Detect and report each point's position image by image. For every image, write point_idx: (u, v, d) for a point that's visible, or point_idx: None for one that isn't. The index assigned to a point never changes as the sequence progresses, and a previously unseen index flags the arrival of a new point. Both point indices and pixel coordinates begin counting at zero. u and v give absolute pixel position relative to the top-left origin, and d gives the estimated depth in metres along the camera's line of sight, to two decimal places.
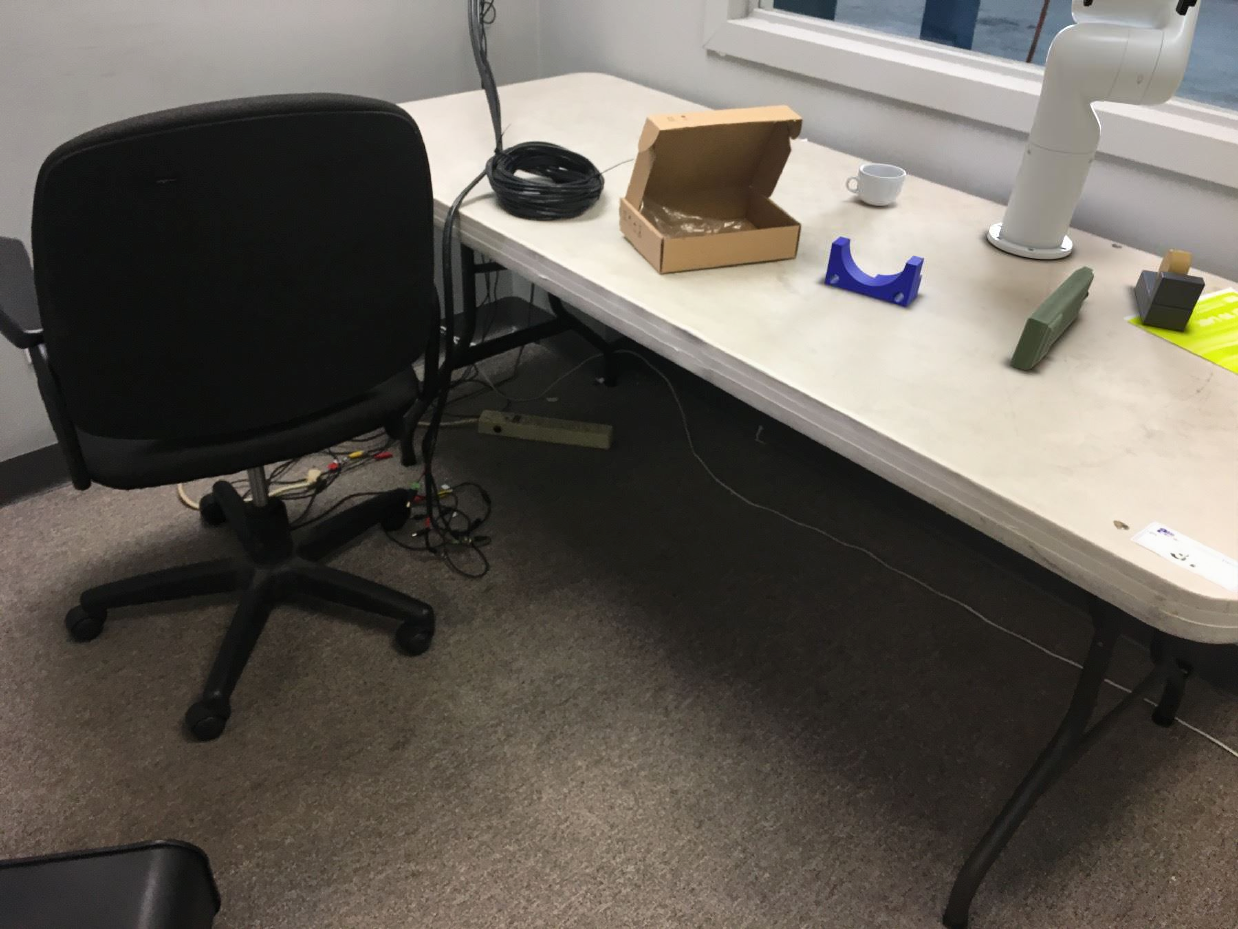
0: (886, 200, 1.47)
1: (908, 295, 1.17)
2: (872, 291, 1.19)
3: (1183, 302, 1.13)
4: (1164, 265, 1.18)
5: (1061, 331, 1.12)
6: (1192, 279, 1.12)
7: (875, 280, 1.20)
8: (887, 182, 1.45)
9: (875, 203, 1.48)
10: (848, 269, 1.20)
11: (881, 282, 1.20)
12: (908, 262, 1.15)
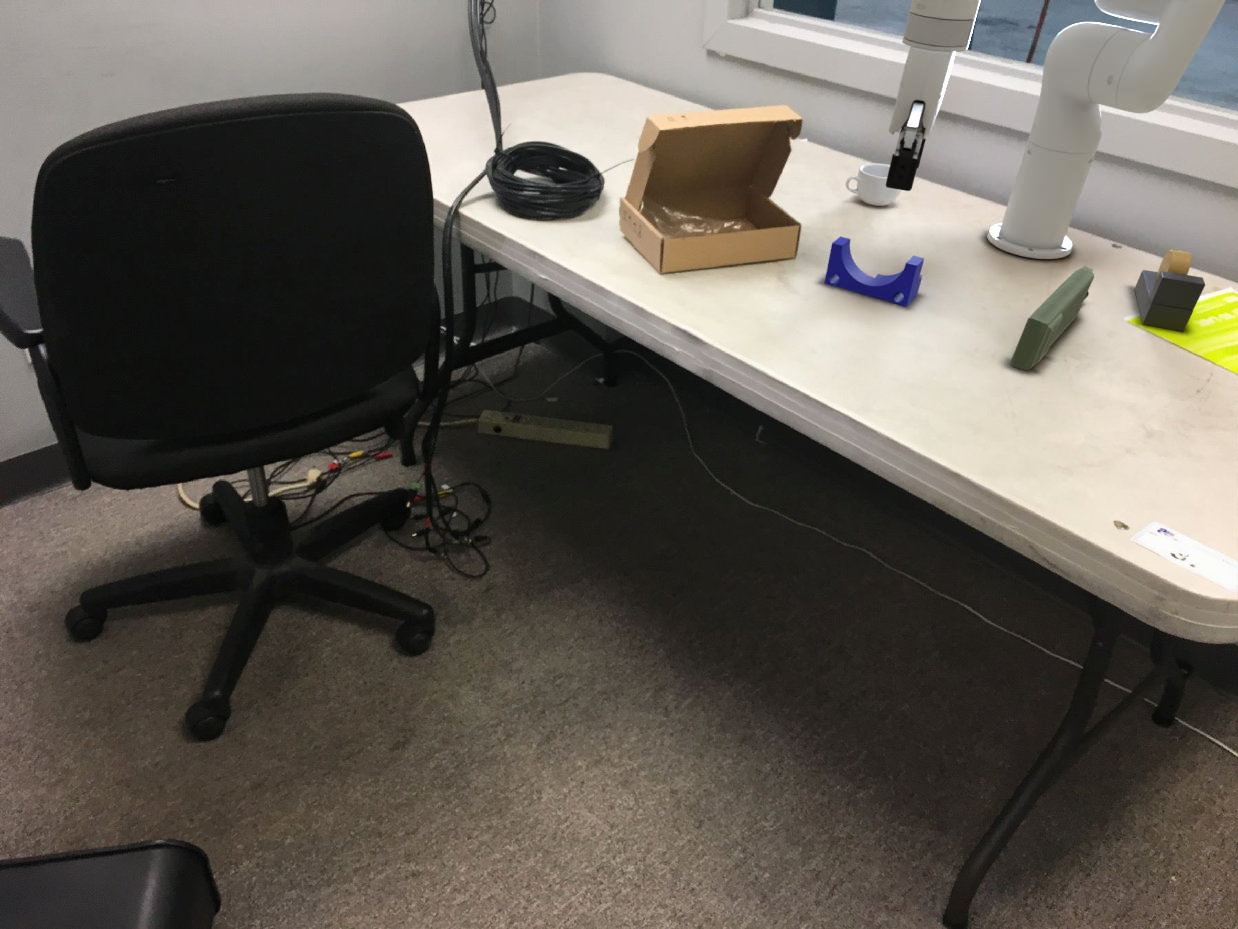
0: (886, 200, 1.47)
1: (908, 295, 1.17)
2: (872, 291, 1.19)
3: (1183, 302, 1.13)
4: (1164, 265, 1.18)
5: (1061, 331, 1.12)
6: (1192, 279, 1.12)
7: (875, 280, 1.20)
8: None
9: (875, 203, 1.48)
10: (848, 269, 1.20)
11: (881, 282, 1.20)
12: (908, 262, 1.15)
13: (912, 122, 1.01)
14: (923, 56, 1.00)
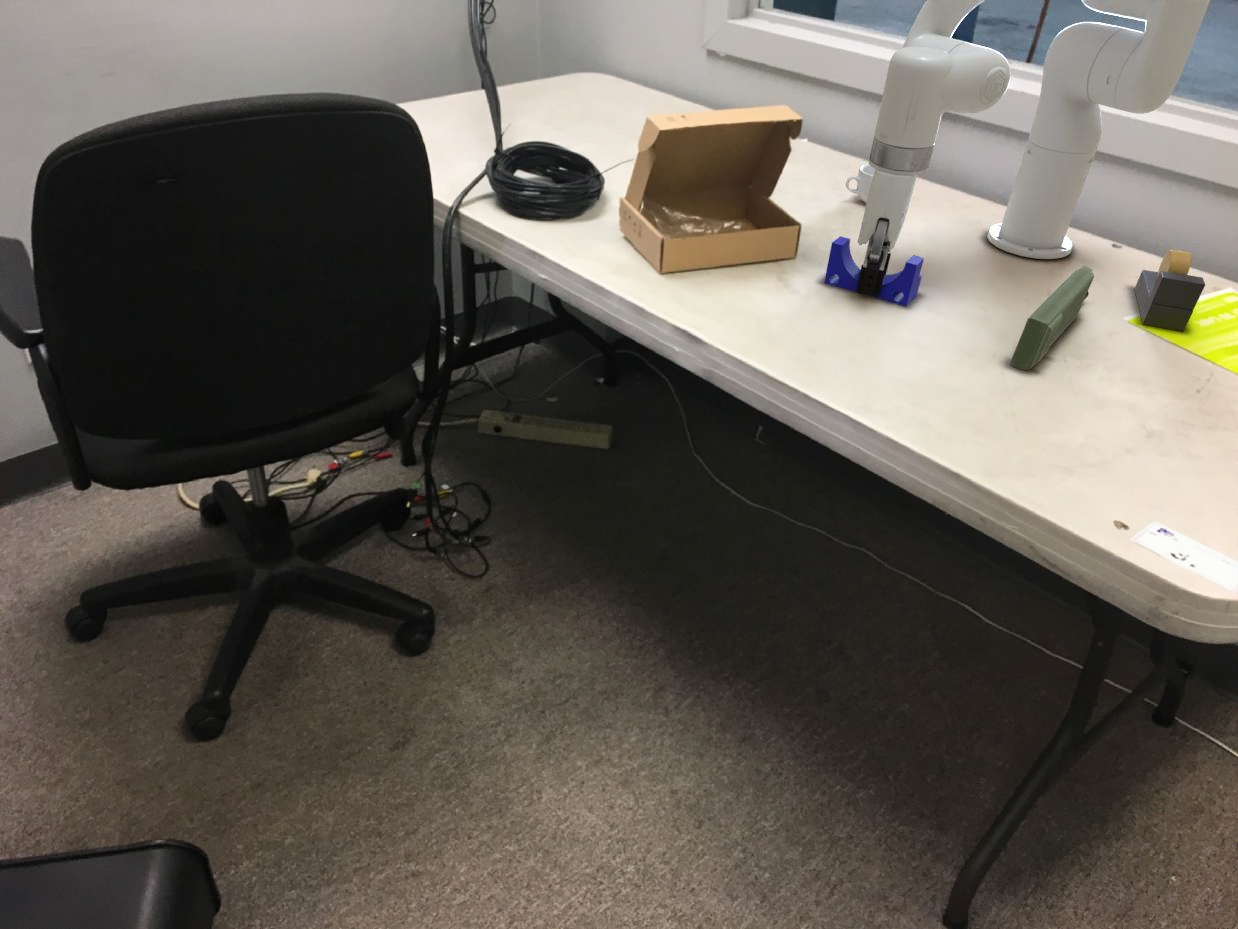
0: None
1: (908, 294, 1.17)
2: None
3: (1183, 302, 1.13)
4: (1164, 265, 1.18)
5: (1061, 331, 1.12)
6: (1192, 279, 1.12)
7: None
8: None
9: None
10: (848, 268, 1.20)
11: None
12: (908, 261, 1.15)
13: (875, 249, 1.11)
14: (886, 180, 1.08)
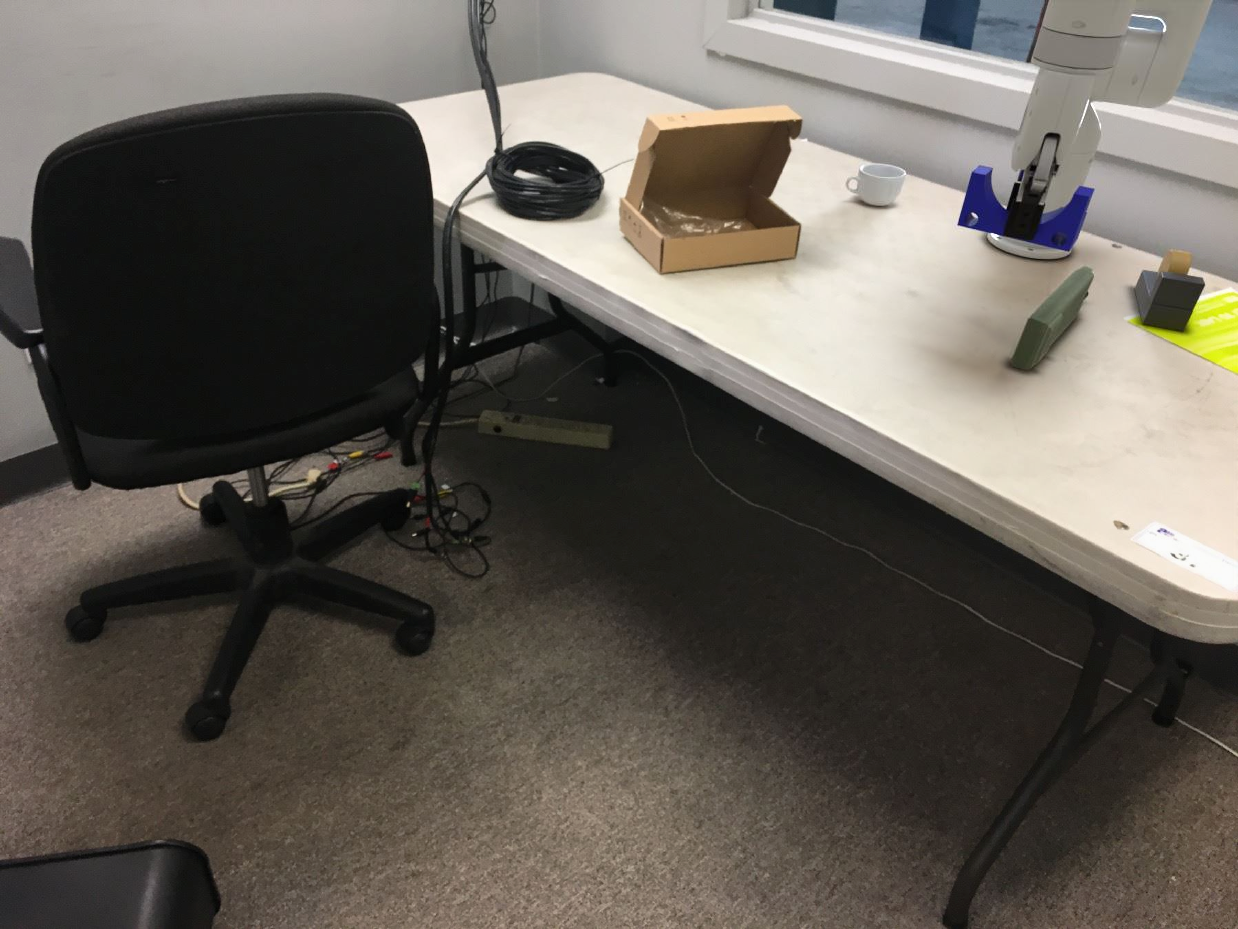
0: (886, 200, 1.47)
1: (1073, 236, 0.91)
2: None
3: (1183, 302, 1.13)
4: (1164, 265, 1.18)
5: (1061, 331, 1.12)
6: (1192, 279, 1.12)
7: None
8: (887, 183, 1.45)
9: (875, 203, 1.48)
10: (991, 205, 0.95)
11: None
12: (1076, 193, 0.89)
13: (1041, 174, 0.86)
14: (1061, 81, 0.83)
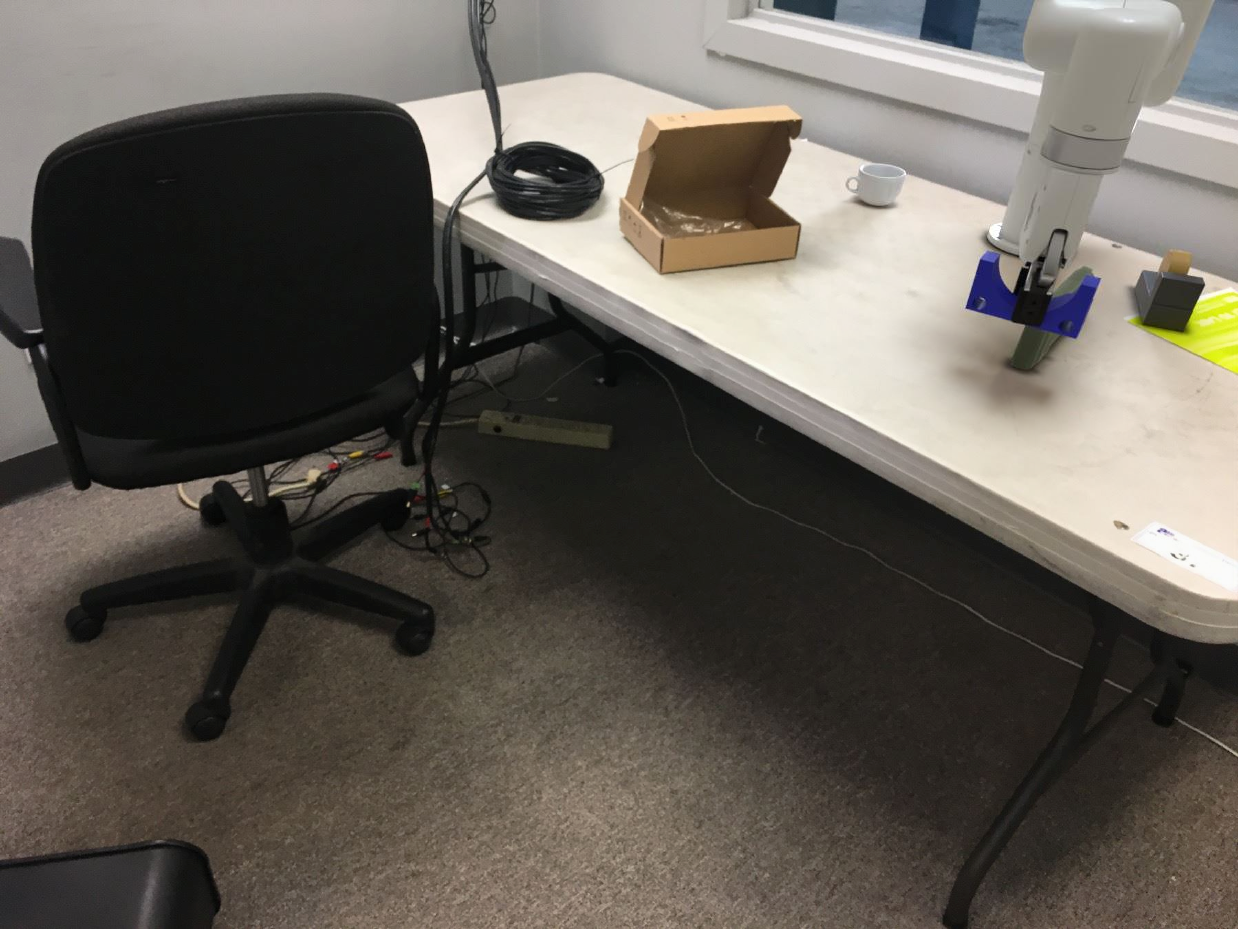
0: (886, 200, 1.47)
1: (1080, 325, 0.93)
2: None
3: (1183, 302, 1.13)
4: (1164, 265, 1.18)
5: None
6: (1192, 279, 1.12)
7: None
8: (887, 183, 1.45)
9: (875, 203, 1.48)
10: (998, 291, 0.96)
11: None
12: (1083, 283, 0.91)
13: (1049, 269, 0.87)
14: (1069, 180, 0.84)
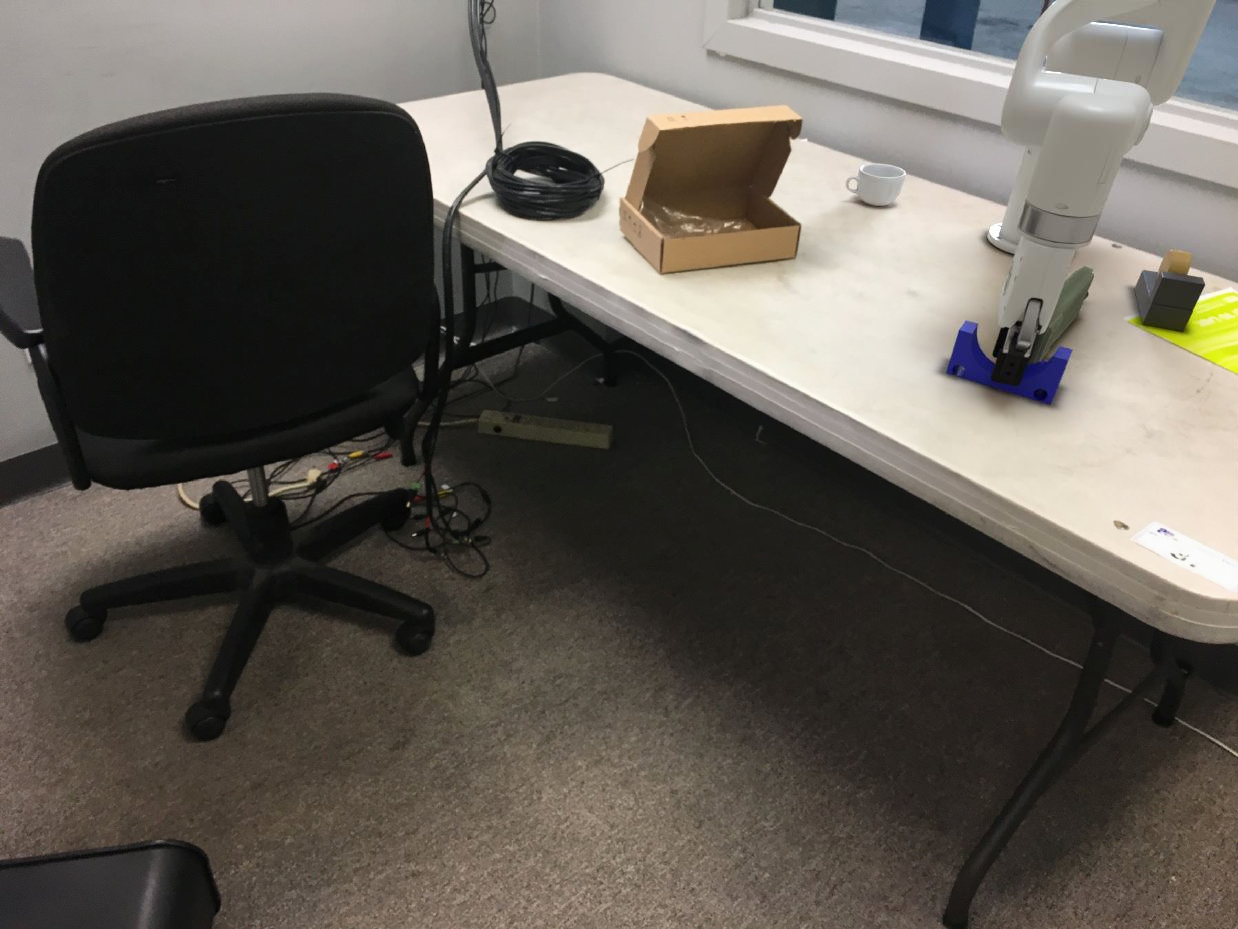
0: (886, 200, 1.47)
1: (1053, 393, 0.98)
2: (1007, 386, 1.01)
3: (1183, 302, 1.13)
4: (1164, 265, 1.18)
5: (1061, 331, 1.12)
6: (1192, 279, 1.12)
7: None
8: (887, 182, 1.45)
9: (875, 203, 1.48)
10: (977, 359, 1.01)
11: None
12: (1056, 356, 0.96)
13: (1025, 335, 0.92)
14: (1043, 254, 0.89)
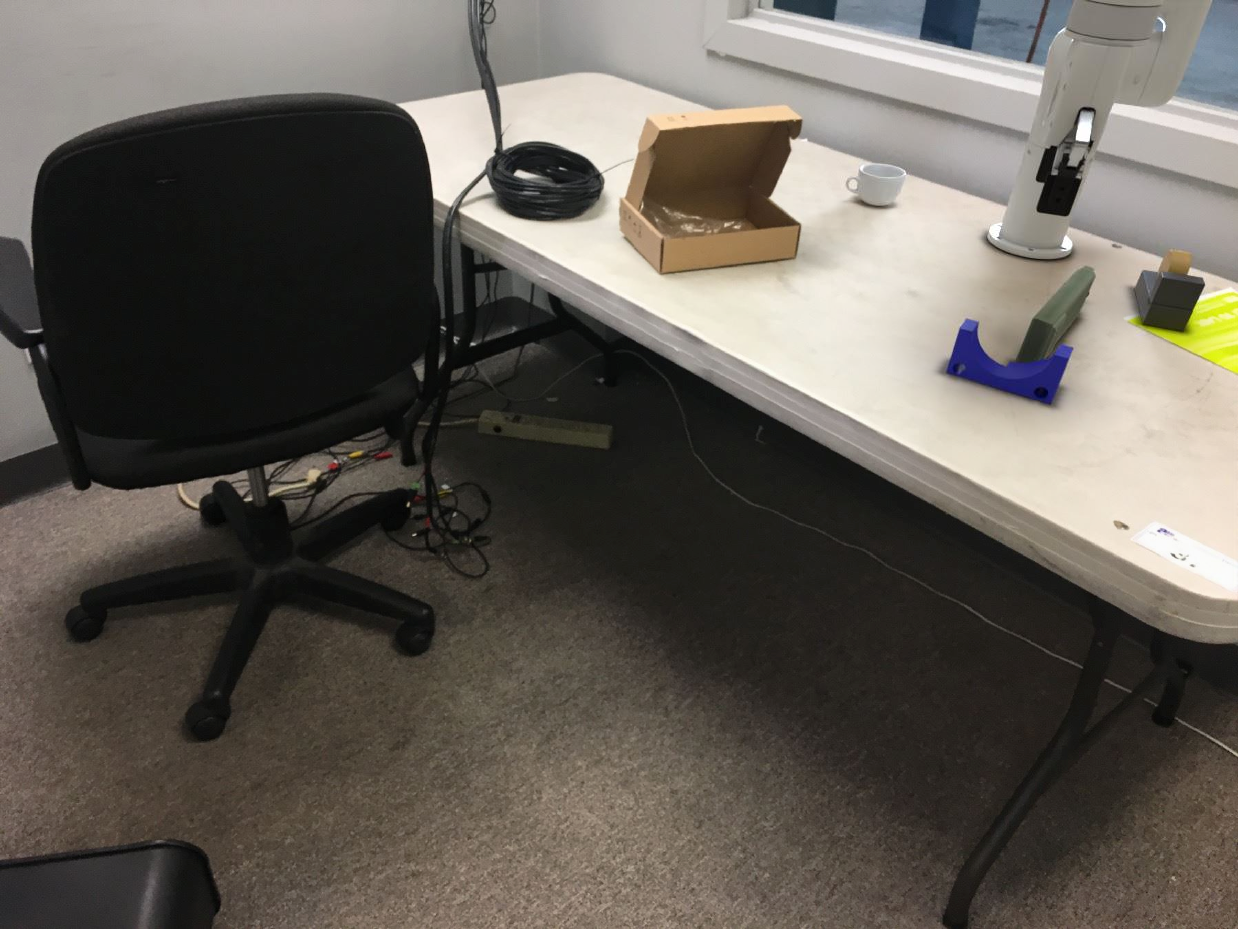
0: (886, 200, 1.47)
1: (1054, 391, 0.98)
2: (1007, 384, 1.00)
3: (1183, 302, 1.13)
4: (1164, 265, 1.18)
5: (1064, 331, 1.12)
6: (1192, 279, 1.12)
7: (1009, 371, 1.02)
8: (887, 183, 1.45)
9: (875, 203, 1.48)
10: (977, 357, 1.01)
11: (1018, 373, 1.01)
12: (1057, 354, 0.96)
13: (1081, 135, 0.81)
14: (1097, 53, 0.80)
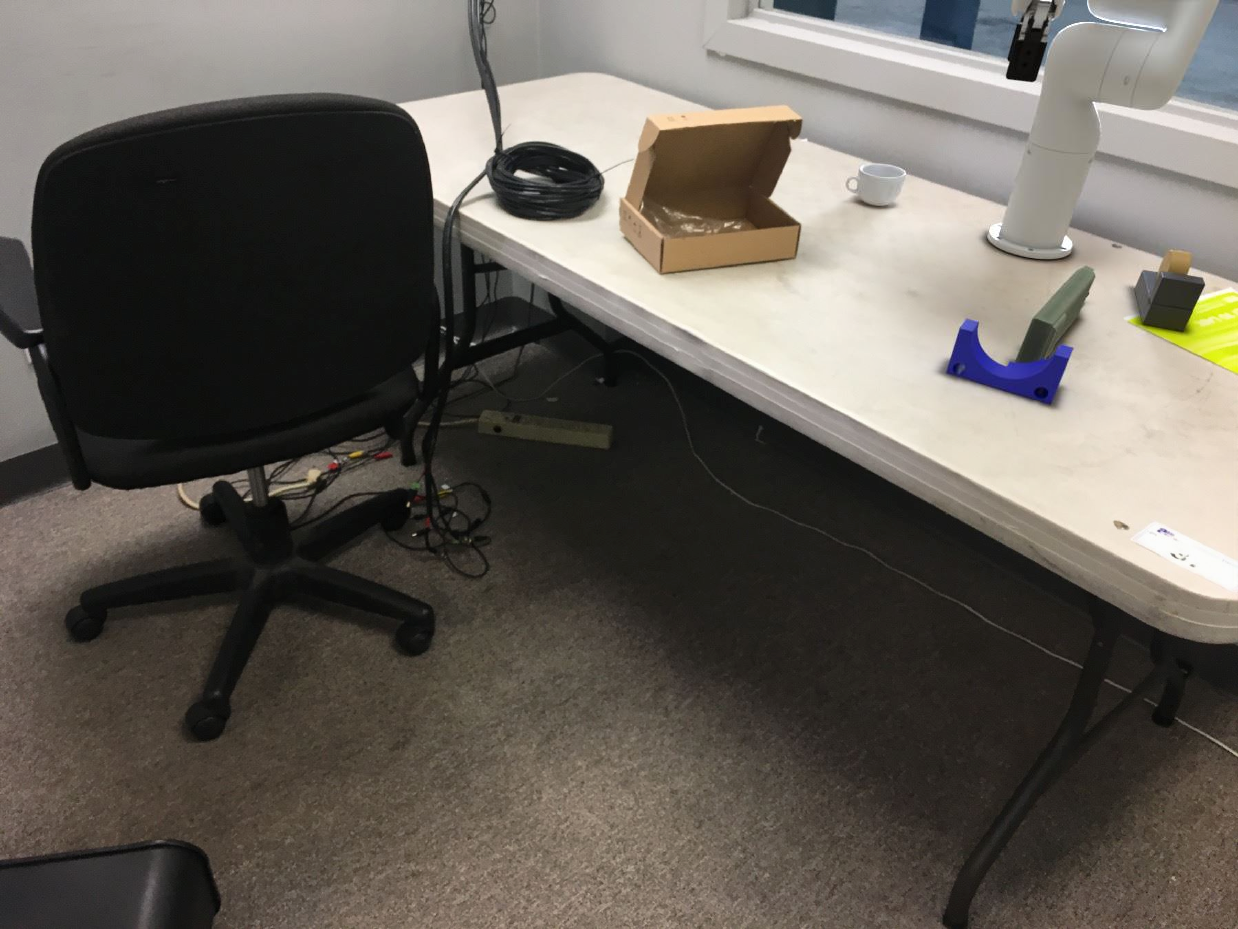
0: (886, 200, 1.47)
1: (1054, 391, 0.98)
2: (1007, 384, 1.00)
3: (1183, 302, 1.13)
4: (1164, 265, 1.18)
5: (1063, 331, 1.12)
6: (1192, 279, 1.12)
7: (1009, 371, 1.02)
8: (887, 183, 1.45)
9: (875, 203, 1.48)
10: (977, 358, 1.01)
11: (1018, 373, 1.01)
12: (1057, 354, 0.96)
13: None
14: None
